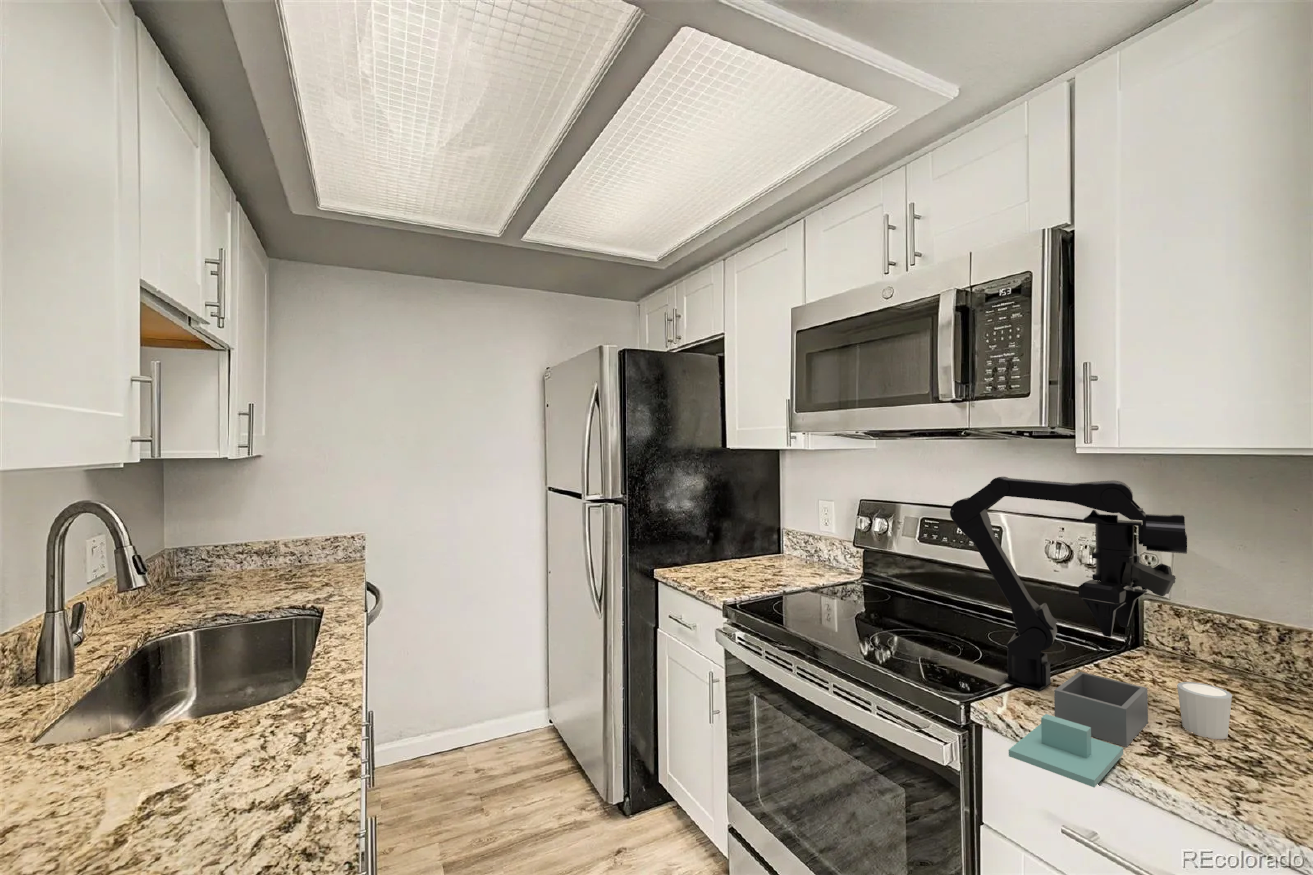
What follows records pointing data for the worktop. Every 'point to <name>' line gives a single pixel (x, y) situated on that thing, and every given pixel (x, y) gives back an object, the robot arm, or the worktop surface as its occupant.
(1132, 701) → the tub
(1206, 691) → the white cup
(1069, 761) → the lid
